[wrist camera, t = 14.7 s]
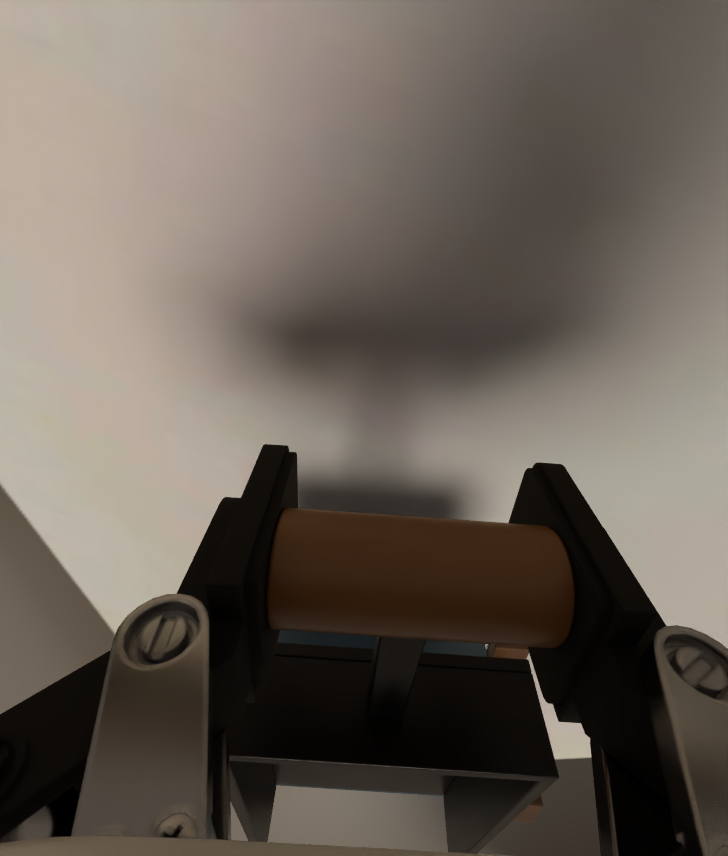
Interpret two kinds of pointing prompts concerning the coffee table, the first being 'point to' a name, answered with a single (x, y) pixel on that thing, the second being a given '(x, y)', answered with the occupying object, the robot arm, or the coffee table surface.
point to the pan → (405, 666)
